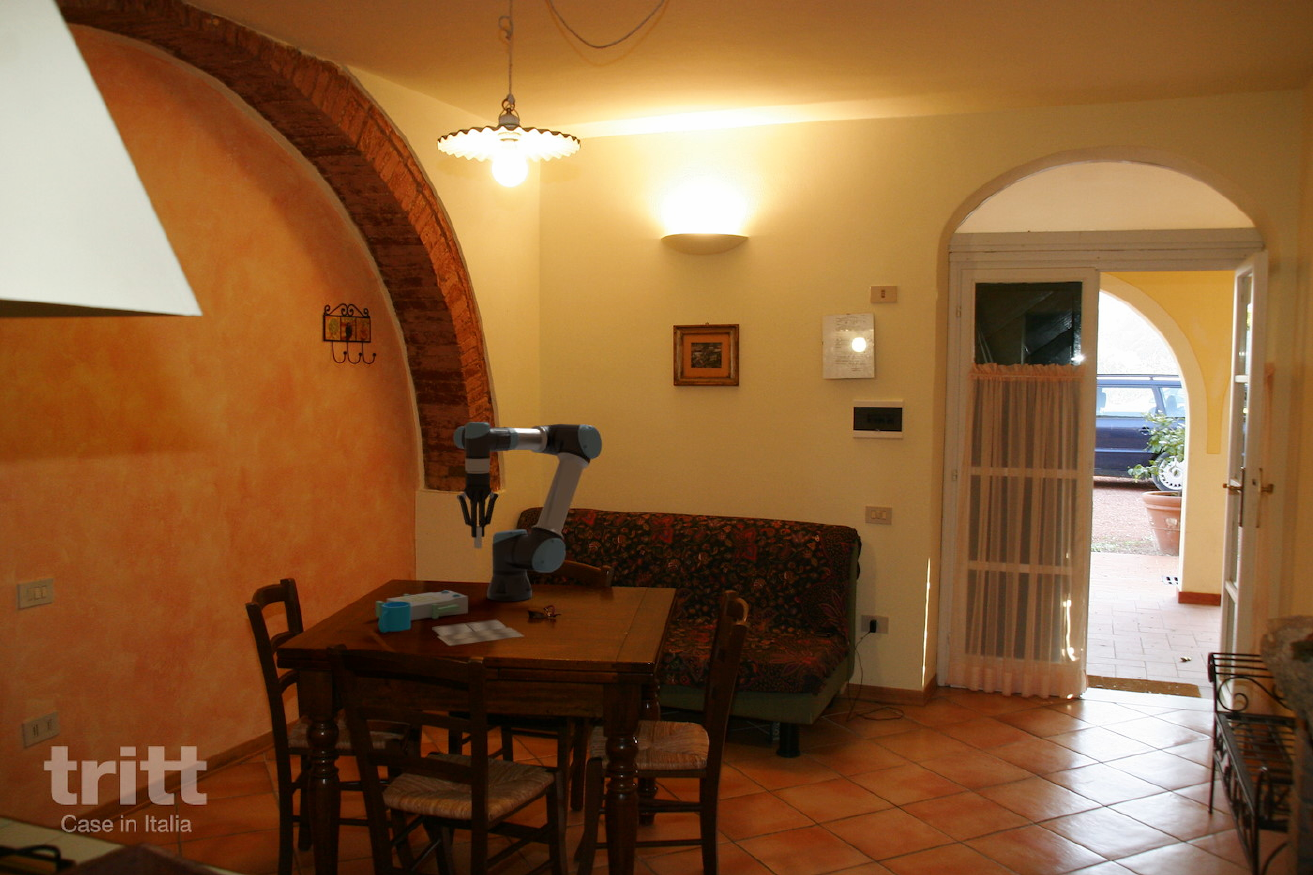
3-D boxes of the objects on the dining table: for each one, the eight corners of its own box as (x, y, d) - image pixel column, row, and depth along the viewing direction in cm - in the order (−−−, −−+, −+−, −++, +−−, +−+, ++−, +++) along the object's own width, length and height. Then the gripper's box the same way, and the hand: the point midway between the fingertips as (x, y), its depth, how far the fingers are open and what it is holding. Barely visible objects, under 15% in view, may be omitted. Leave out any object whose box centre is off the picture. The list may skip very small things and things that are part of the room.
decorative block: (443, 586, 311) (474, 596, 296) (443, 605, 311) (474, 616, 296) (369, 596, 294) (399, 608, 279) (369, 617, 294) (399, 629, 279)
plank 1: (440, 639, 267) (440, 635, 267) (432, 631, 274) (432, 626, 274) (473, 635, 272) (473, 631, 272) (464, 627, 279) (464, 623, 279)
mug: (393, 627, 281) (393, 600, 280) (416, 630, 278) (416, 602, 277) (367, 637, 269) (367, 608, 269) (391, 640, 267) (391, 611, 266)
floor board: (510, 631, 277) (510, 627, 277) (524, 640, 268) (524, 635, 268) (436, 640, 266) (436, 636, 266) (449, 649, 257) (449, 645, 256)
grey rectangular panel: (474, 635, 272) (475, 631, 272) (465, 627, 279) (466, 623, 279) (506, 631, 277) (507, 627, 277) (497, 623, 284) (497, 619, 284)
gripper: (493, 470, 297) (493, 544, 298) (453, 471, 290) (453, 547, 292) (502, 472, 291) (502, 547, 292) (461, 473, 284) (461, 551, 285)
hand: (477, 547), depth 292 cm, fingers closed
